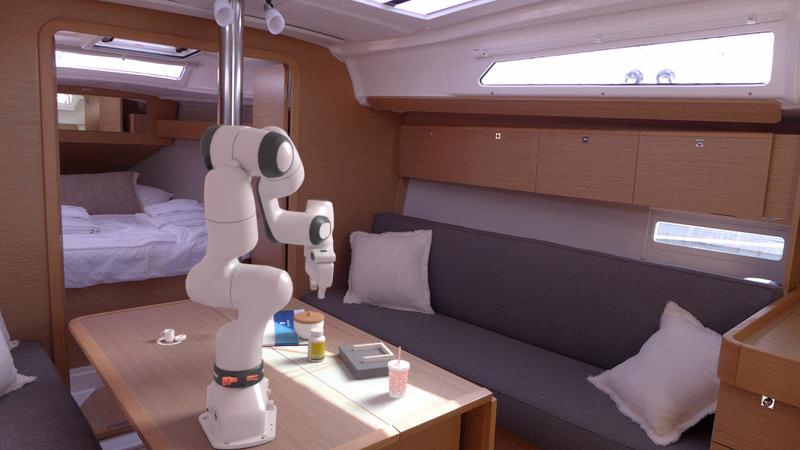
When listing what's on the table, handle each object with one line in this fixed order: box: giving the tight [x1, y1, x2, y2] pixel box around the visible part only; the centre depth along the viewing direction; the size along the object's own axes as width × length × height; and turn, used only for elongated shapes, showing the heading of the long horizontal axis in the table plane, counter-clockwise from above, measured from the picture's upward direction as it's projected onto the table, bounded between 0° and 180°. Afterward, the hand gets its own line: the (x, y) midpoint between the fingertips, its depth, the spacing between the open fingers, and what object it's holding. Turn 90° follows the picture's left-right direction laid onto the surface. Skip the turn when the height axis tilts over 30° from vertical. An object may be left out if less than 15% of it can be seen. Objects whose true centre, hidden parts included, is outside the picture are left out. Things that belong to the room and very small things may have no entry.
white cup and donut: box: [156, 328, 187, 346], centre depth 184 cm, size 9×8×4 cm
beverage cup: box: [388, 346, 411, 399], centre depth 153 cm, size 6×6×14 cm
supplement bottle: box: [307, 328, 326, 363], centre depth 175 cm, size 5×5×10 cm
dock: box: [338, 341, 398, 381], centre depth 174 cm, size 20×15×4 cm
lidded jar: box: [293, 310, 325, 340], centre depth 194 cm, size 11×11×9 cm
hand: (317, 293), depth 173 cm, fingers open, 8 cm apart
